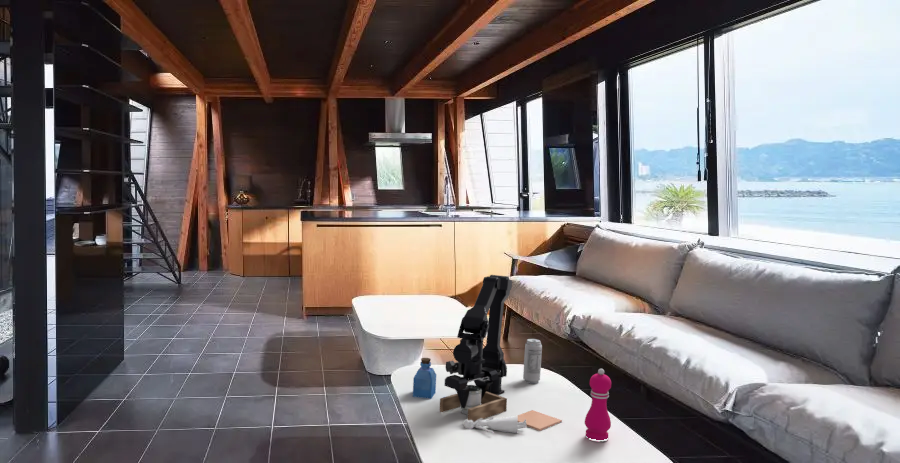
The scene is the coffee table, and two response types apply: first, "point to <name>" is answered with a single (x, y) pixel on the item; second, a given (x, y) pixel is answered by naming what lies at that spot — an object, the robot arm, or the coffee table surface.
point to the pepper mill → (598, 407)
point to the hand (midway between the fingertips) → (470, 405)
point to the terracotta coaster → (537, 420)
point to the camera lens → (472, 398)
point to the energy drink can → (532, 361)
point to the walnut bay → (488, 408)
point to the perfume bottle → (424, 380)
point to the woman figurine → (497, 424)
